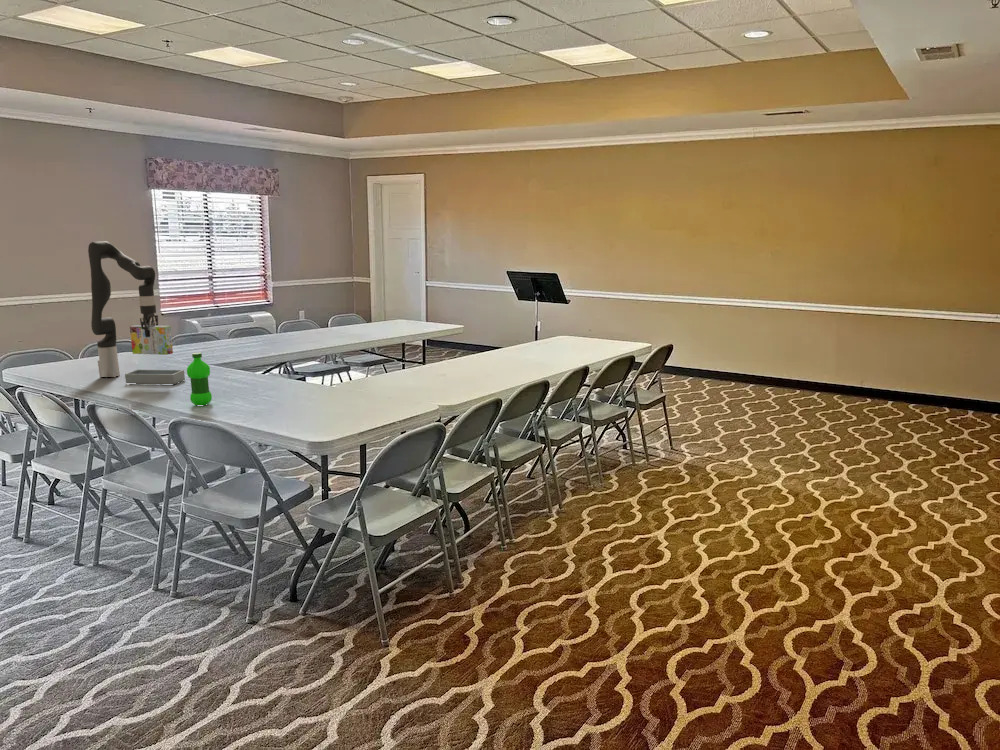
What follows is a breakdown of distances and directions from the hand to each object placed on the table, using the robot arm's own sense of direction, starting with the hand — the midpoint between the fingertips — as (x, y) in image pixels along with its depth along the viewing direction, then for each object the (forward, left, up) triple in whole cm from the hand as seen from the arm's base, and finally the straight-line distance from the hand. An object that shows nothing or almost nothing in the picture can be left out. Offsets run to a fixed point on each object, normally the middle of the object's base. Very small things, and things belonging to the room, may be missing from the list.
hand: (151, 335), depth 393 cm
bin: (0, 0, -26) cm, 26 cm away
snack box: (0, 0, -10) cm, 10 cm away
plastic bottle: (+48, -45, -26) cm, 70 cm away
